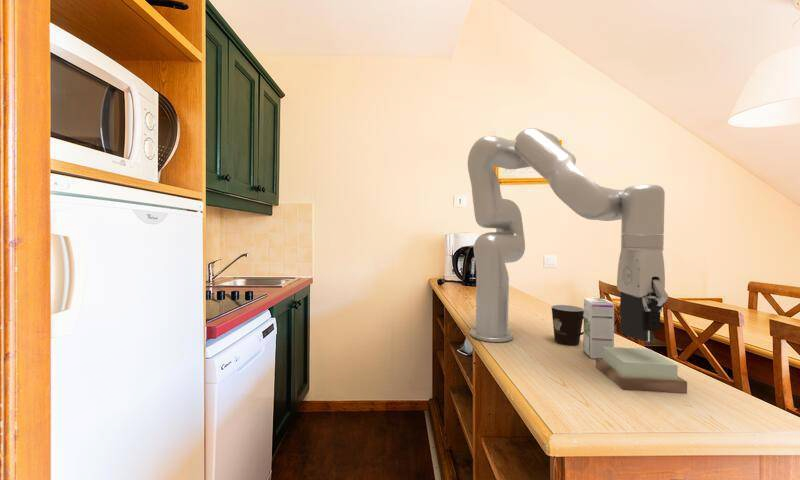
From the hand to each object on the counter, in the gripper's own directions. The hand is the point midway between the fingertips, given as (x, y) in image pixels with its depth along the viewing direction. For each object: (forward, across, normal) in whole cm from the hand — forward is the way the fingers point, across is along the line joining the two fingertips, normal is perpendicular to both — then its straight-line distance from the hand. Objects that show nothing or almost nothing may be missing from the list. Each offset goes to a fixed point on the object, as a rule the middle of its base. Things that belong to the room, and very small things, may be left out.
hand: (639, 324), depth 75 cm
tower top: (+10, 0, 0) cm, 10 cm away
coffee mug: (+12, -24, -6) cm, 27 cm away
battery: (+3, 0, 0) cm, 3 cm away
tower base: (+13, 0, 0) cm, 13 cm away
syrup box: (+12, -15, -2) cm, 19 cm away
